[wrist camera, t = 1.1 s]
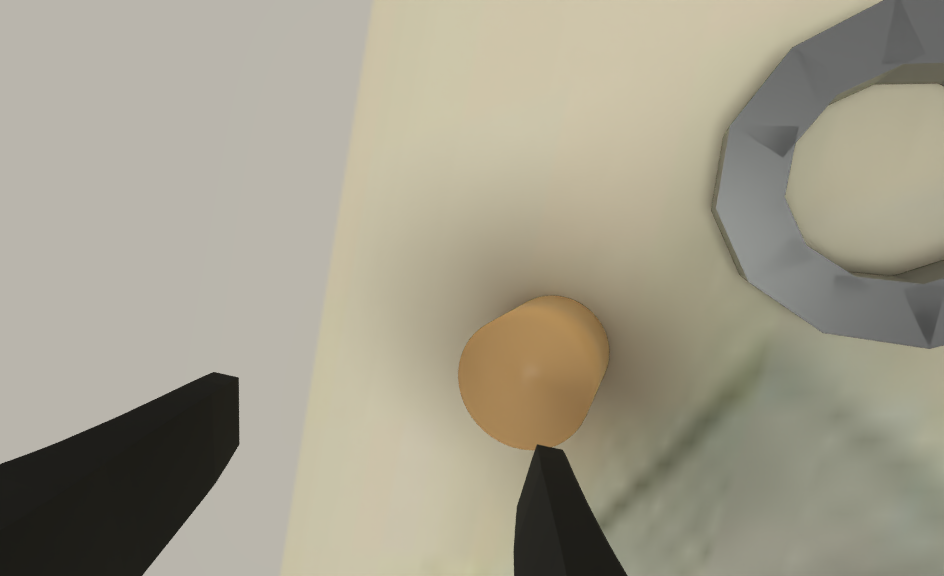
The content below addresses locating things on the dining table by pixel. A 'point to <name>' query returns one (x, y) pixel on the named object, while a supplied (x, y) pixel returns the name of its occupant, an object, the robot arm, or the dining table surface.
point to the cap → (534, 372)
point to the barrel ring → (769, 161)
